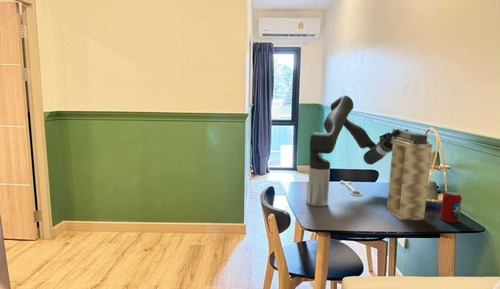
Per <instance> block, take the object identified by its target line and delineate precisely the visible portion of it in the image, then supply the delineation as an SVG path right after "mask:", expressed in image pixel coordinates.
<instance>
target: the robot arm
mask: <svg viewBox="0 0 500 289" xmlns="http://www.w3.org/2000/svg"><path fill="white" fill-rule="evenodd" d="M353 109H354V101H353V100H352V98H351V97H350V96H348V95H342V96H340V97H339V98H337V99H336V100H335V101H333V102H332V103H331V104H330V110H331V111H330V112H329V113H328V115H327V116H326V118H325V120H324V122H323V128H324V130H325V132H318V131H317V132H316V131H315V132H312V134H311V135H310V139H309V170H308V172H309V173H308V181H307V185H306V186H307V187H306V203H307V204H308V206H313V207H326V206H328V204H329V188H330V174H331V172H330V170H331V162H330V161H329V160H327V159H325V158H323V157H322V156H321V155H320V154H328V155H329V154H331V153H332V152H333V151H334V150H335V147H336V144H337V141H338V138H339V135H340V133H341V131H342V129H343V128H345V130H347V131H348V132H349V133H350V135H351V136H352V137H353V139H354V141H355V142H356V143H357V145H358V147H359V148H360V149H365V148H368V149H369V150H368V151H366V152H365V153H364V154H363V161H364V162H365V164H367V165H375V164H376V163H377V162H379V161H381V160H382V159H383V158H384V157H385V156H386V155H388V154H390V153H392V148H393V139H396V138H395V137H396V136H397V135H398V134H399V129H400V128H396V129H397V130H395V131H394V132H392V131H391V133H390V132H385V133H384V134H382V135H380V136H379V137H378V138H379V141H378V142H377V143H376V142H374V141H373V140H372V139H371V137H370V136H369V134H368V133H367V131H366V130H365V129H364V128H363V127H361V126H359V125H357V124H355V123H353V122H352V121H350V120H349V119H348V116H349V115H350V113H351V112H352V110H353ZM404 130H405V131H409V130H408V129H404Z"/></svg>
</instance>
